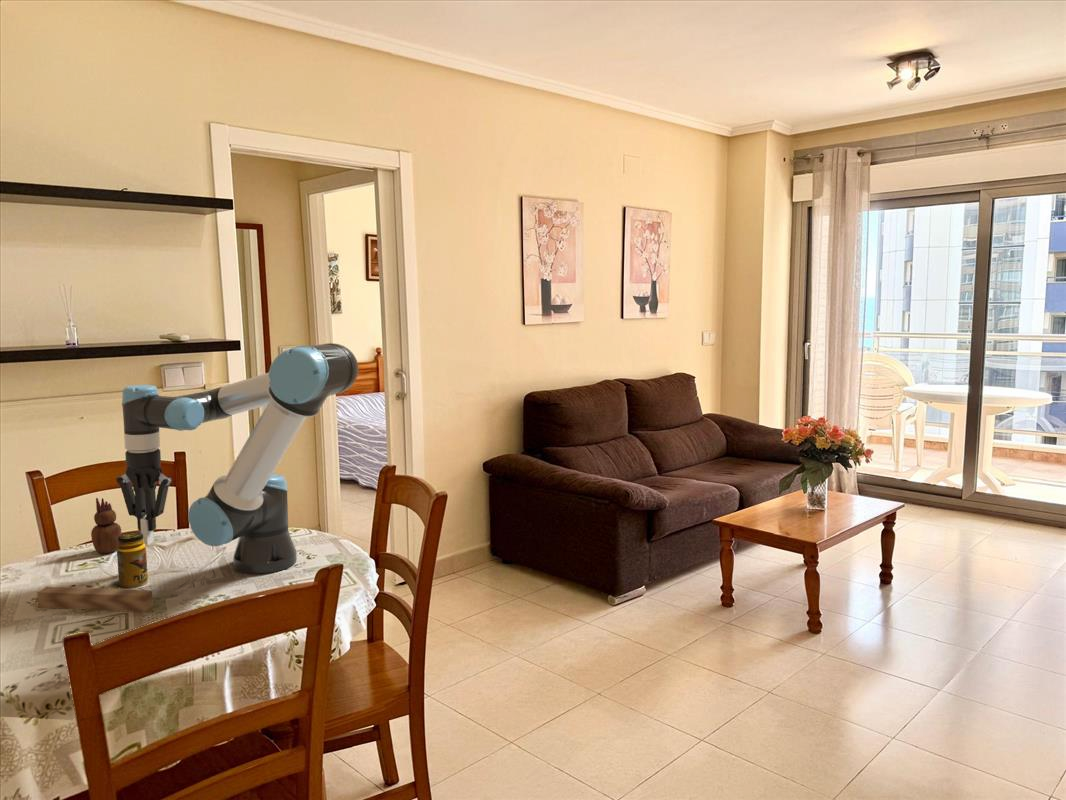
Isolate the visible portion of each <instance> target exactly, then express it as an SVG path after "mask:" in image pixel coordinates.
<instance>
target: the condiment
mask: <svg viewBox="0 0 1066 800" xmlns="http://www.w3.org/2000/svg"><path fill="white" fill-rule="evenodd" d="M143 542H144V540H143V534H142V533H141V531H132V532H131V531H130V532H129V531H128V532H124V533H121V535H120V536H119V537H118V548H117V550H116V560H117V574H118V579H115V580H109V581H108V580H107V585H108V589H122V590H136V589H140V588H146V587H150V586H152V583H151V580H150V578H149V575H148V573H149V572H148V560H147V547H146V546H147V545H145V544H144V543H143Z"/></svg>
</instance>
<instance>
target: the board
mask: <svg viewBox="0 0 1066 800" xmlns="http://www.w3.org/2000/svg"><path fill="white" fill-rule="evenodd" d="M36 597H37V598H36V599H37V608H49V609H67V610H68V609H69V610H71V609H74V610H91V611H92V610H93V611H94V610H96V611H99V610H100V611H120V612H121V611H122V612H123V611H124V612H145V613H146V612H147V611H149V610H150V609H151V608H152V607H153V606H154V601H153V598H154V597H153V590H145V589H141V590H140V589H128V590H122V588H121V589H109V588H91V587H88V588H87V587H84V588H83V587H67V586H66V587H65V586H44V587H43V588H42V589H40V590H38V591H36Z"/></svg>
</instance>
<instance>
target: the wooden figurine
mask: <svg viewBox="0 0 1066 800" xmlns="http://www.w3.org/2000/svg"><path fill="white" fill-rule="evenodd" d="M95 506H96V513H95V514H94V515H93V516H94V517H93V520H94V523H95V524H96V525H95V526H93V528H92V529H91V532H90V535H91V536H90V537H91V543H92V545H93V548H94V550H95V551H96V552H97V554H111V553H114V552H117V548H118V537H119V536H120V535H122V527H121V525H120V524H119V523H117V522H116V521H117V514H116V511H115V510H114V509H113V506H112V503H110V502H108V501H104V498H101V503H100V501H99V498H98V497H96V498H95Z"/></svg>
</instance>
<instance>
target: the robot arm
mask: <svg viewBox="0 0 1066 800" xmlns="http://www.w3.org/2000/svg"><path fill="white" fill-rule="evenodd" d="M358 374H359V363H358V360H357V357H356V356H355V354H354V353H353V352H352V351H351V350H350V349H349V348H347V347H346V346H344V345H341V344H339V343H335V342H334V343H332V342H330V343H329V342H328V343H324V344H323V343H322V344H317V345H311V346H308V345H301V346H300V345H299V346H295V347H292V348H289V349H285V350H284V351H282V352H281V353H279V354H278V355H277V356H276V357H275V358H274V360H273V361H272V362H271V365H270V367H269V371H268V372H266V373H263V374H260V375H256V376H253V377H250V378H246V379H243V380H240V381H237V382H233V383H230V384H226V385H223V386H220V387H219V386H218V387H216V388H212V389H209V390H207V391H200V392H195V393H190V394H183V395H178V396H167V395H166V396H165V395H159V392H158V388H157V386H156V385H152V384H133V385H132V384H131V385H128V386H125V387H124V388H123V390H122V396H121V397H122V401H121V406H122V418H123V431H124V432H123V434H124V449H125V450H126V451H125V465H126V467H127V468H126V470H125V473H124V474H122V475H121V476H118V477H117V478H115V480H116V483H117V484H118V485H119V486H120V489H121V492H122V496H123V500H124V502H125V503H124V504H125V506H126V510H127V513H128V515H129V516H133V517H136V520H137V529H138V530H137V531H138V532H140V533H142V534H143V540H144V542H143V543H144V544H145V545H146V546H149V545H151V543H153V542H154V541H155V540H154V539H155V538H154V531H155V530H156V529H157V517H159V516H161V515H163V513H164V511H165V506H166V501H167V497H168V492H169V487H170V485H171V483H172V482H173V478H172V477H171V476H169V477H168V476H166V475H165V474H163V473H164V472H163V470H162V467H161V463H162V459H161V449H160V446H161V444H160V443H161V441H160V440H161V438H160V437H161V436H160V428H161V429H170V430H175V431H178V432H179V431H181V432H182V431H194V430H196V429H197V428H198V427H199V426H201V425H202V424H204V423H208V422H212V421H216V420H217V421H218V420H222V419H227V418H229V417H231V416H233V415H237V414H241V413H244V412H248V411H252V410H254V409H258V408H261V407H265V408H264V410H263V411H262V413H261V415H260V417H259V419H258V420H257V423H256V424H255V425H254V428H253V429H252V430H251V432H250V434H249V436H248V437H247V439H246V441H245V442H244V444H243V446H242V448H241V449H240V452H239V453H238V455H237V456H236V458H235V460H234V462H233V463H232V465H231V467H230V469H229V470H228V472H227V474H225V475H222V476H219V477H218V478H217V479H215V481H214V482H213V484H212V485H211V488H210V489H209V491H208V493H207V494H206V495H205V496H204V497H199V498H197V499H196V500H195V501H193V502H192V504H191V505H190V507H189V509H188V514H187V515H188V516H187V519H188V523H189V525H190V529H191V531H192V533H193V534H194V536H195V537H196V538H197V539H198V540H199V541H200V542H202V543H203V544H204V545H207V546H209V547H219V546H222V545H226V544H229V543H231V542H232V541H234V540H237V539H238V541H237V545H236V547H235V551H234V553H233V559H232V560H233V561H232V562H233V563H232V564H233V568H234V570H235V571H237V572H241V573H244V574H255V575H256V574H258V575H260V574H268V573H274V572H280V571H282V570H286V569H288V568H290V567H291V566H293V565H295V564H296V562H297V549H296V548H295V547H296V546H295V544H294V543H293V539H292V537H291V535H290V532H289V510H288V509H289V508H288V492H289V489H288V487H287V479H286V478H285V477H284V476H283V475H281V474H277V473H274V472H275V470H276V469H277V467H278V466H279V463H280V462H281V460H282V459H283V457H284V455H285V454H286V452H287V450H288V449H289V447H290V446H291V444H292V442H293V441H294V439H295V438H296V436H297V434H298V432H299V430H300V429H301V427H302V426H303V425H304V423H305V420H306V419H307V418H312V417H315V416H317V414H318V413H319V411H320V410H321V409H322V408H321V407H322V406H323V404H324V403H325V401H326V400H327V398H328V397H330V396H333V395H338V394H341V393H343V392H346V391H348V390H349V389H350V388H351V387H352V386H353V385H354V384H355V382H356V380H357V378H358V376H359V375H358ZM157 483H158V484H159V486H158V489H157ZM156 489H157V494H156Z"/></svg>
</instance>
